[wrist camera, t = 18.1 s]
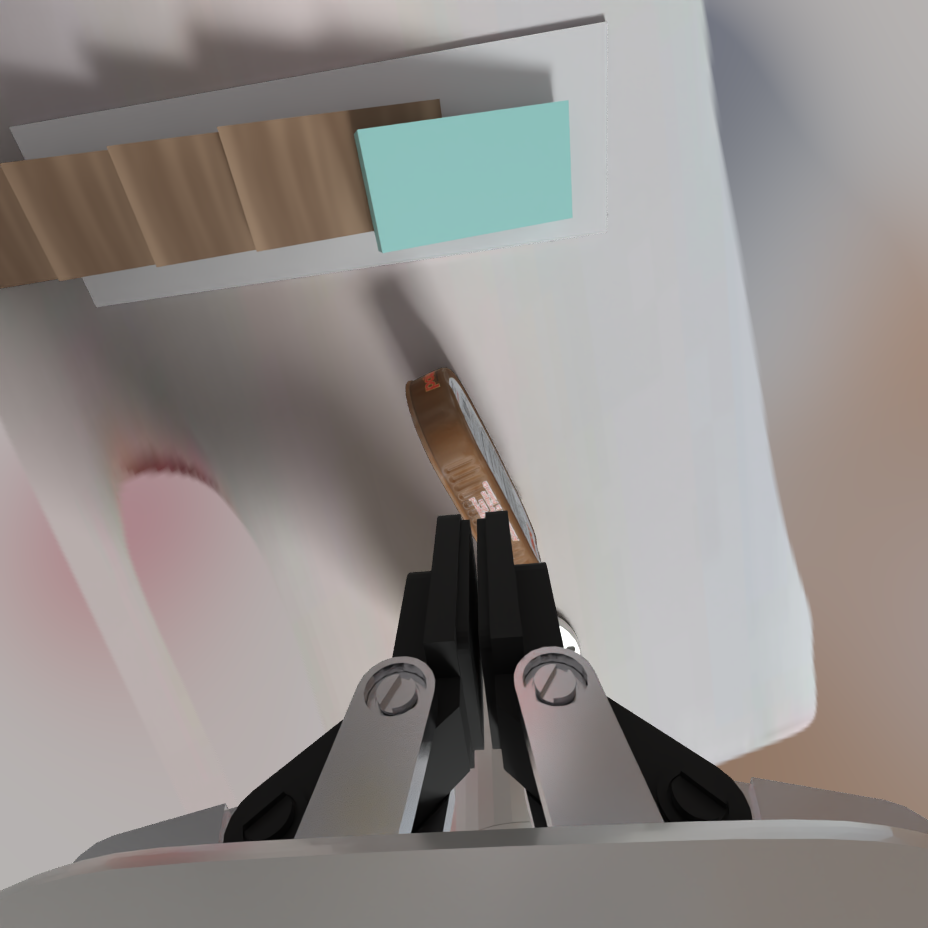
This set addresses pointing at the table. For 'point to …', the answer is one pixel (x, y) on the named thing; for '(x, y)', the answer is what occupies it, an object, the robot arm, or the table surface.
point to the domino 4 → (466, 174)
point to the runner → (363, 86)
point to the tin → (467, 457)
